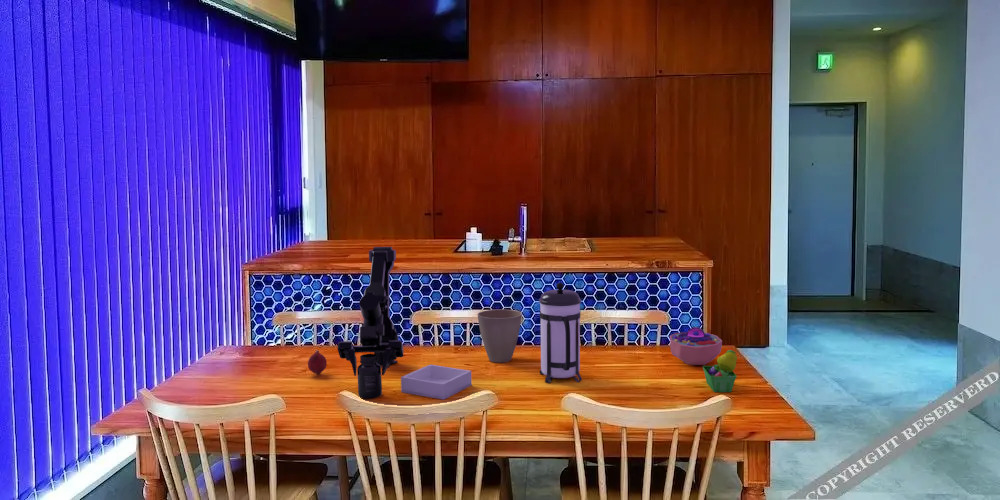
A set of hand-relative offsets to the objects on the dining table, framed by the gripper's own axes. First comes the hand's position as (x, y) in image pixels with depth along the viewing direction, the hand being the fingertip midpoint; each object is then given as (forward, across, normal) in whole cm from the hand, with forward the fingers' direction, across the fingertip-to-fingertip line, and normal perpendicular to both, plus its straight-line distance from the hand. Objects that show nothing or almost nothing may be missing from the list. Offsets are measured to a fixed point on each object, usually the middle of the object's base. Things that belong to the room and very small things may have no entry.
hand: (368, 375), depth 221 cm
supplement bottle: (+4, 0, +6) cm, 7 cm away
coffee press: (-5, +57, +14) cm, 59 cm away
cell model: (-15, +103, +25) cm, 107 cm away
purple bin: (0, +19, +9) cm, 21 cm away
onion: (-12, -20, +22) cm, 32 cm away
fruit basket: (+4, +103, +6) cm, 103 cm away
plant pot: (-21, +39, +31) cm, 54 cm away
